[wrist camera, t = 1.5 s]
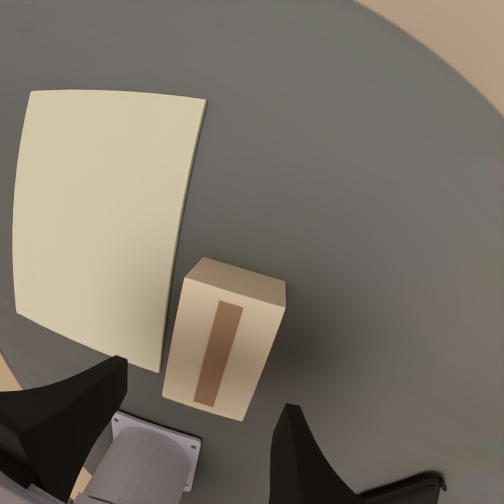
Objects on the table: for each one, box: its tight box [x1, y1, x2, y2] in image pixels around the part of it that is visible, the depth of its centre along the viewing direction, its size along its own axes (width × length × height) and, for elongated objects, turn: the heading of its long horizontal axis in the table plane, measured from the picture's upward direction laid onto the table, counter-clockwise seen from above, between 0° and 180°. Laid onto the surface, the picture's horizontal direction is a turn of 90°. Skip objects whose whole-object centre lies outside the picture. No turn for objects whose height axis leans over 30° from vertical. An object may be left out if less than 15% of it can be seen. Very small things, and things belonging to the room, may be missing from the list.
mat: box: [13, 90, 207, 373], centre depth 19 cm, size 18×14×1 cm
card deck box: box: [162, 257, 286, 421], centre depth 18 cm, size 8×5×4 cm, turn 164°
